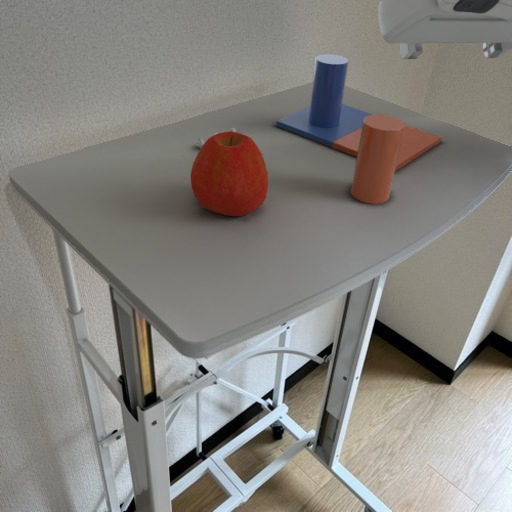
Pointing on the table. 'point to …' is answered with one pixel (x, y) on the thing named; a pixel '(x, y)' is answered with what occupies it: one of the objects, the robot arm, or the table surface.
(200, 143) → the game pieces
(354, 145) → the board
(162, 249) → the table surface
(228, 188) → the apple
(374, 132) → the terracotta canister
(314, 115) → the blue canister
